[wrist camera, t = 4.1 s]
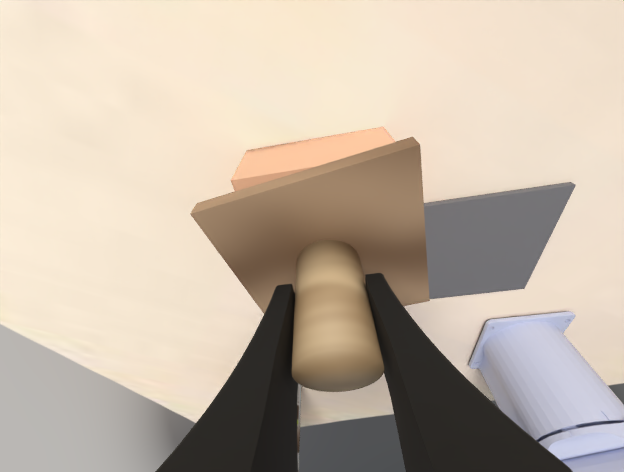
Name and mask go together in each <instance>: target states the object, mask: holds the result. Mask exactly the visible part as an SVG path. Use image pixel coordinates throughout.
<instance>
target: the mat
mask: <svg viewBox="0 0 624 472" xmlns="http://www.w3.org/2000/svg"><path fill="white" fill-rule="evenodd" d="M574 188H575V184H573V183H571V182H568V183H562V184H555V185H548V186H541V187H534V188H527V189H520V190H513V191H506V192H499V193H492V194H485V195H478V196H471V197H464V198H457V199H450V200H443V201H436V202H429V203H424V218H425V235H426V251H427V267H428V283H429V299H435V298H444V297H453V296H462V295H471V294H480V293H489V292H498V291H507V290H516V289H524V288H525V286H526V284H527V282H528V280H529V278H530V276H531V274H532V272H533V270H534V268H535V266H536V264H537V262H538V260H539V258H540V256H541V254H542V252H543V250H544V248H545V246H546V244H547V242H548V240H549V238H550V236H551V234H552V232H553V230H554V228H555V226H556V224H557V222H558V220H559V218H560V216H561V214H562V212H563V210H564V208H565V206H566V204H567V202H568V200H569V198H570V196H571V194H572V192H573V190H574Z"/></svg>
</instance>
